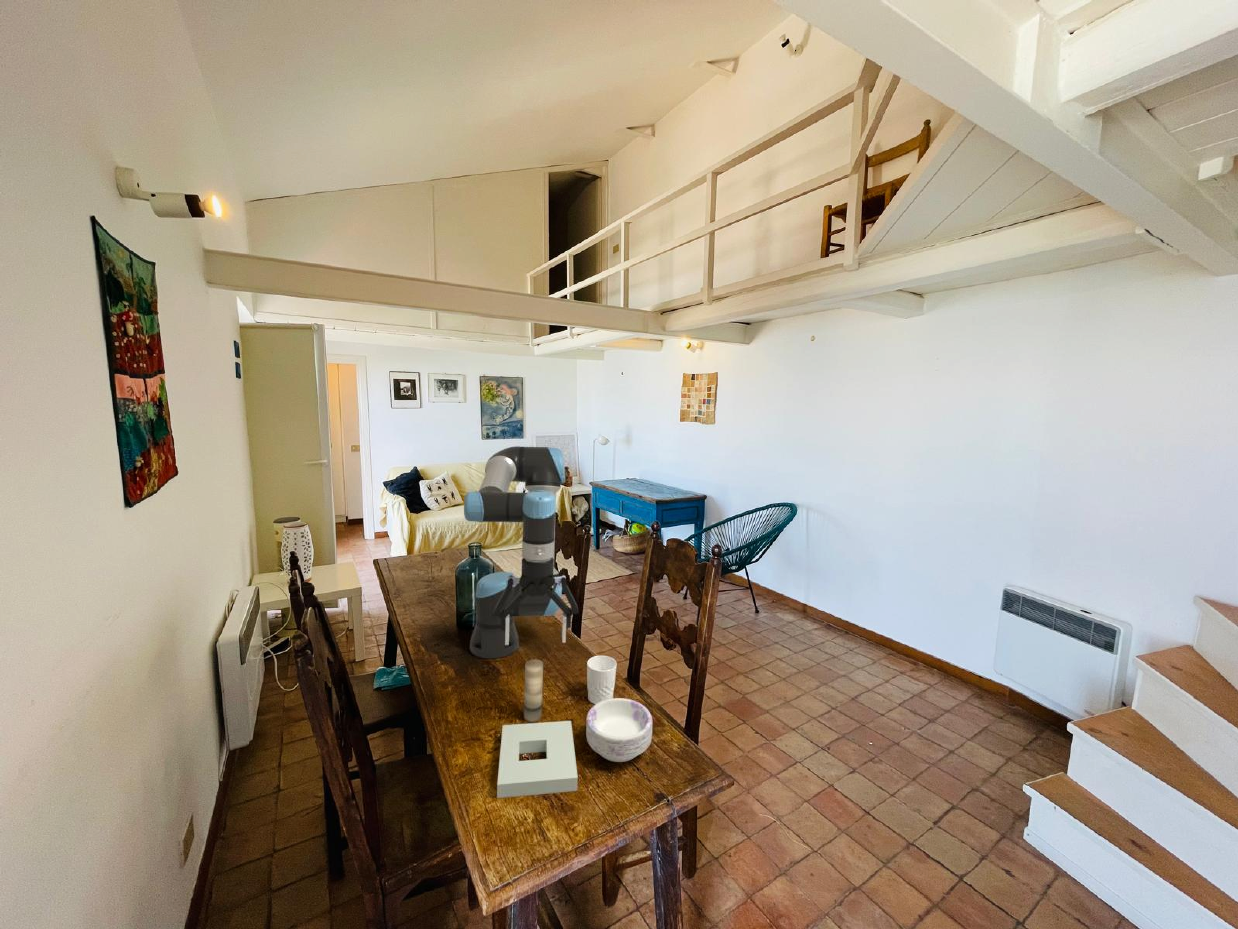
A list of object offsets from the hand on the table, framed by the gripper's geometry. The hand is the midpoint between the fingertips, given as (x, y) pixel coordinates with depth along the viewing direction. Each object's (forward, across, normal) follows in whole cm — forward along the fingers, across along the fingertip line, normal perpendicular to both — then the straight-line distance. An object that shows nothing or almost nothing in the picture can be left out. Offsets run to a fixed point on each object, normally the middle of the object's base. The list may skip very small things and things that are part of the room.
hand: (535, 641), depth 120 cm
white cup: (+21, +18, +7) cm, 28 cm away
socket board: (+20, +1, -15) cm, 25 cm away
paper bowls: (+21, +19, -13) cm, 31 cm away
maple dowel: (+21, 0, +1) cm, 21 cm away
